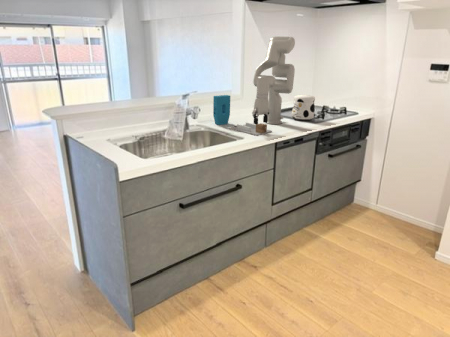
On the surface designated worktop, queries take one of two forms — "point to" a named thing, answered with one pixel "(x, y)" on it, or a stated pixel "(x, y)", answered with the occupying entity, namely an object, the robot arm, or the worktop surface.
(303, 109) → the milk container
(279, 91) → the robot arm
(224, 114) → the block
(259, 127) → the walnut block
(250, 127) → the tube board
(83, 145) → the worktop surface
